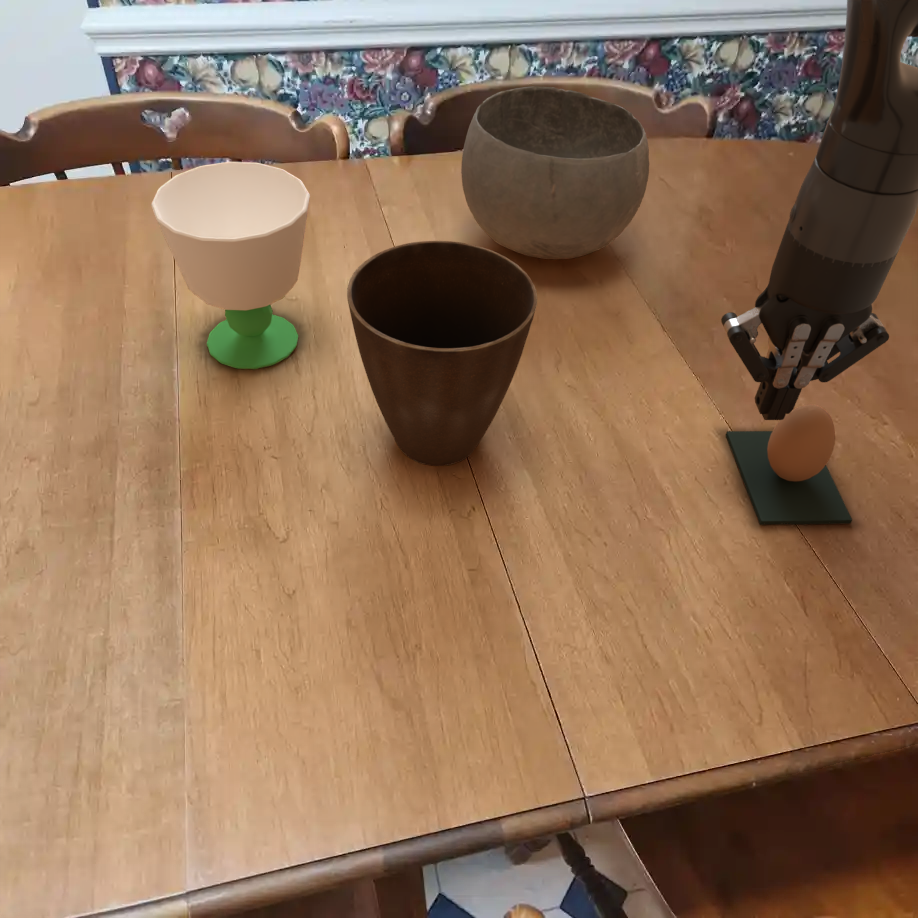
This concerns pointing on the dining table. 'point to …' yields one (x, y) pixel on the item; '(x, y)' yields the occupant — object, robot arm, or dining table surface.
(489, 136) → the bowl
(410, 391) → the flower pot
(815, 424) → the egg
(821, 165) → the robot arm
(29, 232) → the dining table surface
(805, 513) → the mat
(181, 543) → the dining table surface
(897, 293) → the dining table surface
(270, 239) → the cup
